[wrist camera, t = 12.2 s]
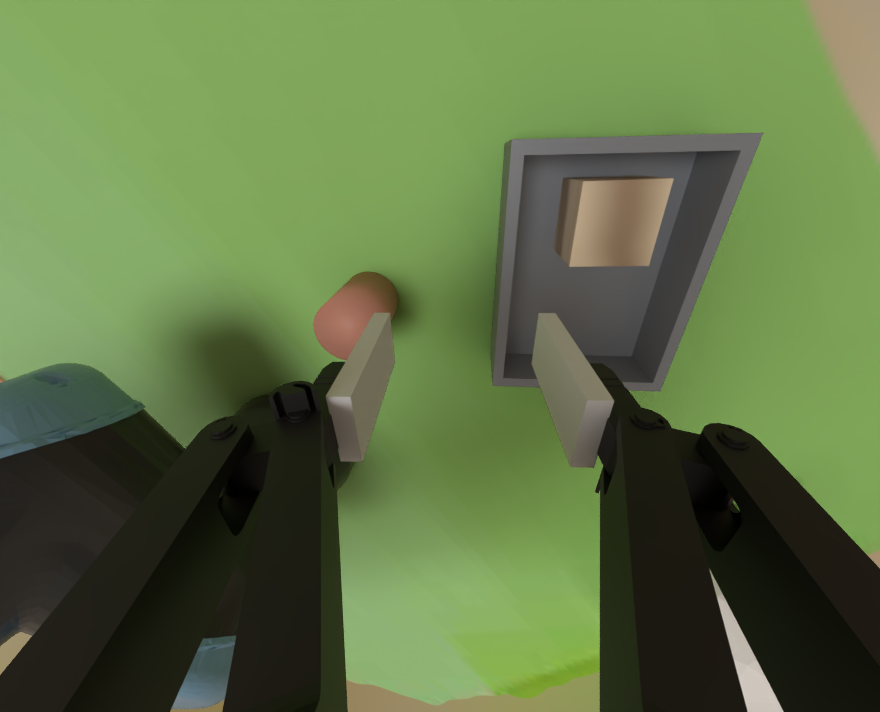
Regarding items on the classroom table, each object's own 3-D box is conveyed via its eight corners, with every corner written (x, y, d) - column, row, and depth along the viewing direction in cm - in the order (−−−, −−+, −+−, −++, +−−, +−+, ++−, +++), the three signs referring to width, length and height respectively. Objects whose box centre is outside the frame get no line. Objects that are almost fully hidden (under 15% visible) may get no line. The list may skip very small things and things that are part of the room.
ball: (592, 550, 36) (943, 946, 18) (740, 429, 41) (1131, 640, 23) (592, 598, 47) (814, 879, 28) (711, 497, 52) (963, 678, 34)
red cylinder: (349, 322, 32) (321, 360, 26) (340, 271, 29) (306, 299, 23) (400, 323, 31) (383, 361, 25) (396, 271, 29) (375, 300, 23)
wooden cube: (553, 249, 26) (569, 266, 22) (563, 177, 24) (583, 181, 19) (619, 248, 26) (648, 265, 21) (636, 175, 23) (673, 178, 19)
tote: (634, 359, 31) (660, 391, 27) (490, 356, 32) (492, 385, 28) (707, 138, 22) (763, 132, 18) (504, 143, 23) (511, 139, 19)
